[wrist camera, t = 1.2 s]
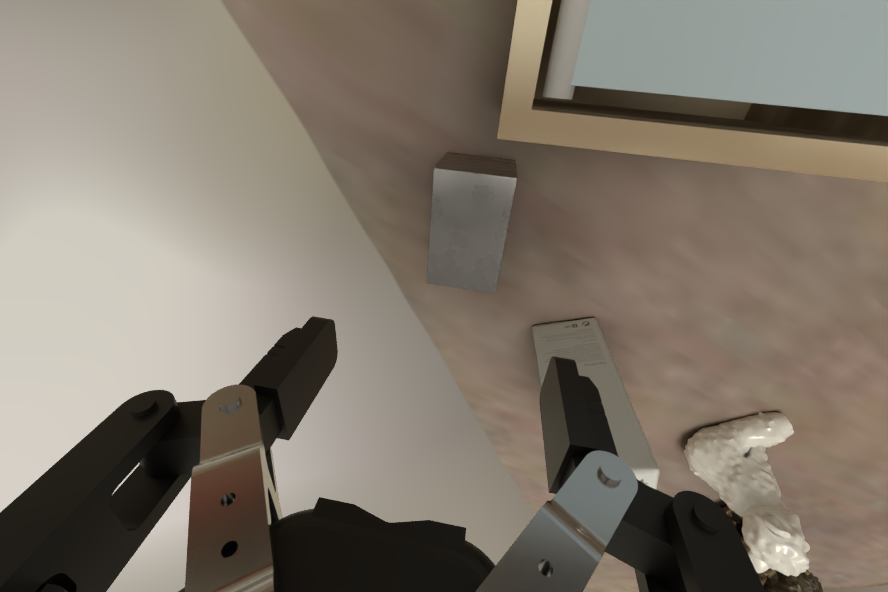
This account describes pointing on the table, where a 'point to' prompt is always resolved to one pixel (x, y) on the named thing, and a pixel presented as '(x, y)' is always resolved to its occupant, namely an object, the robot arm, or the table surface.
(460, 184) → the metal brick
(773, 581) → the rock
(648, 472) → the skincare box
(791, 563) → the seated beast figurine
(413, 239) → the table surface
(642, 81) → the hatch door
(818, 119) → the hatch box
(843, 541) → the table surface
